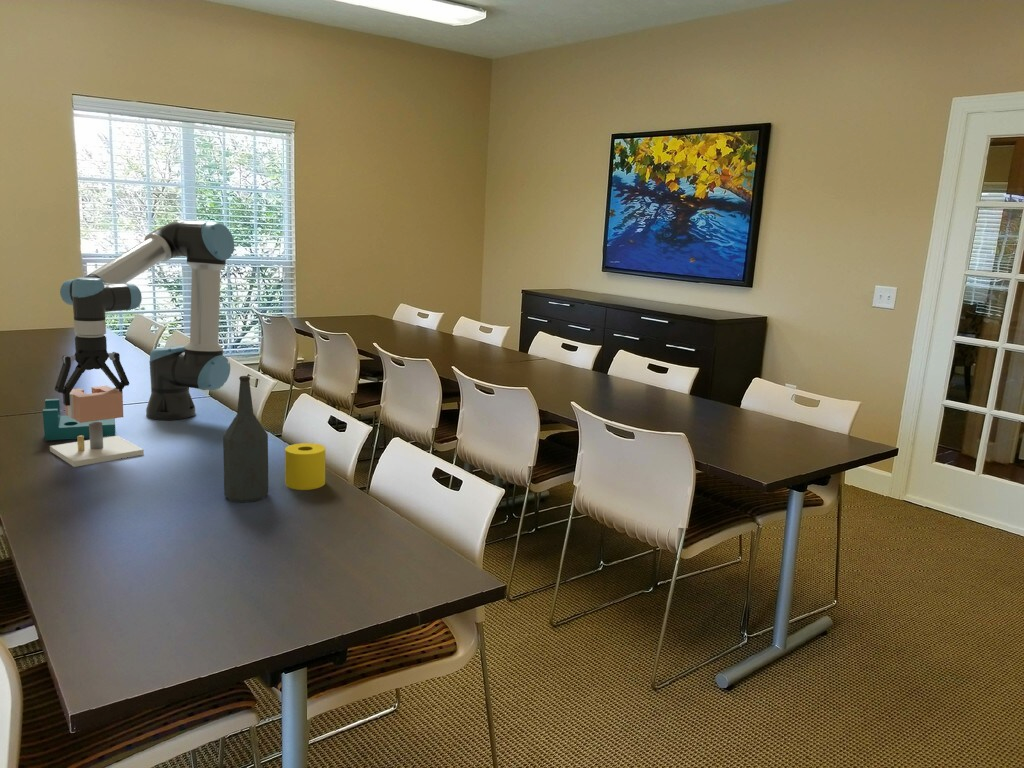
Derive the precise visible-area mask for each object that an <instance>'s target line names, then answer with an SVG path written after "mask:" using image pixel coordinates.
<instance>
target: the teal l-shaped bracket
mask: <svg viewBox="0 0 1024 768" xmlns="http://www.w3.org/2000/svg"><path fill="white" fill-rule="evenodd" d="M44 406H45V409H44V408H43V409H42V416H43V417H42V418H43V419H42V420H43V421H42V422H43V430H44V432H43V434H44V441H59V440H73V439H77V436H84V439H87V438H88V439H90V434H89V423H92V422H101V423H102V432H103V438H105V437H111V436H116V418H114V419H106V420H98V421H91V422H83V423H80V422H78V421H76V420H74V419H73V418H71V417H69V416H67V415H66V414H65V415H61V403H60V398H45V400H44Z"/></svg>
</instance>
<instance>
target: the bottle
mask: <svg viewBox="0 0 1024 768" xmlns="http://www.w3.org/2000/svg"><path fill="white" fill-rule="evenodd" d="M238 379H239V390H238V399H237V400H238V401H237V413H236V415H235V417H234V418H233V420H232V421H231V423H230V424H229V426H228V428H227V429H226V431H225V432H224V434H223V436H222V444H223V445H222V448H223V449H222V450H223V451H222V452H223V456H222V457H223V487H224V488H223V490H224V491H223V492H224V493H223V494H224V496H225V498H226V499H228V501H231V502H234V503H250V502H258V501H260V500H262V499H264V498H265V497H266V496H267V495H268V493H269V435H268V434H269V433H268V432H267V431H266V429H265V428H264V426H263V425H262V424H261V423H260V421H259V420H258V418H257V416H256V415H255V414H254V407H253V400H252V398H253V397H252V391H251V385H250V384H251V383H250V380H251V377H250V376H249V375H241V376H239V378H238Z"/></svg>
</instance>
